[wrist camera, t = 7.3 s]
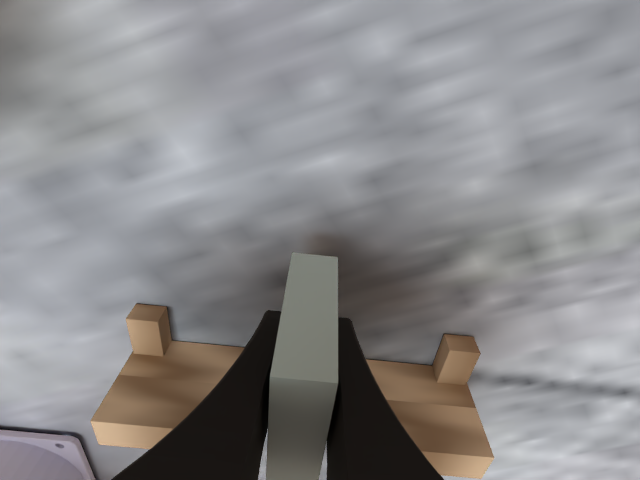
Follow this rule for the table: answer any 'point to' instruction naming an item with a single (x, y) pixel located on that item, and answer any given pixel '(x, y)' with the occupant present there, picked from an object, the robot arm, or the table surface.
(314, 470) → the pale gray-green board
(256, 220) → the table surface
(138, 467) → the robot arm
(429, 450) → the wooden rack
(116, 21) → the table surface
